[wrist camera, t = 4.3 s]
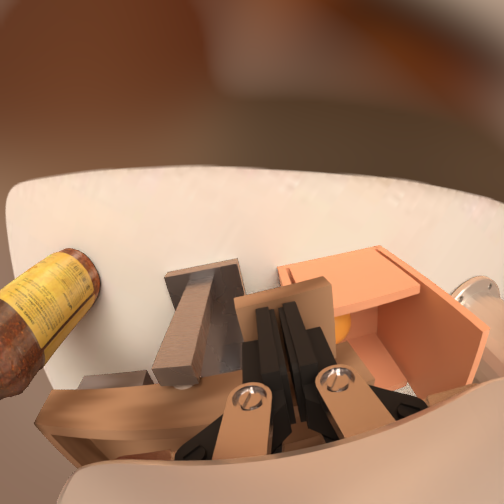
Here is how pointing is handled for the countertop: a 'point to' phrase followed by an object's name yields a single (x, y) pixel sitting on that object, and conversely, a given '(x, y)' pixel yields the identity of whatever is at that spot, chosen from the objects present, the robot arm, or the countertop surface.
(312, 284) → the brown wooden tray
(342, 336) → the ball
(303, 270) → the cup
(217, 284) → the stand
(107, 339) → the countertop surface
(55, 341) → the sauce bottle
